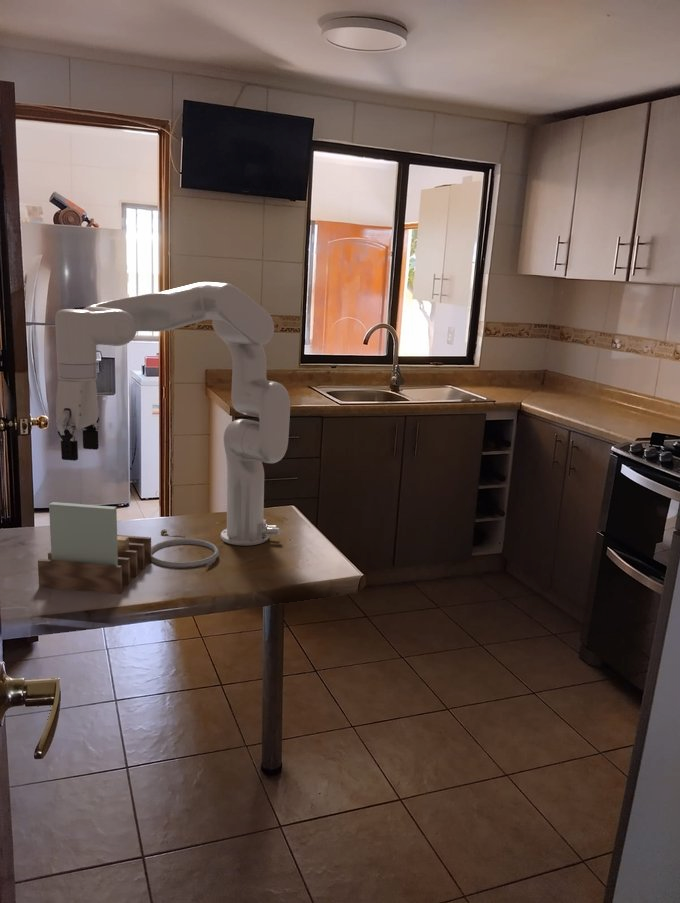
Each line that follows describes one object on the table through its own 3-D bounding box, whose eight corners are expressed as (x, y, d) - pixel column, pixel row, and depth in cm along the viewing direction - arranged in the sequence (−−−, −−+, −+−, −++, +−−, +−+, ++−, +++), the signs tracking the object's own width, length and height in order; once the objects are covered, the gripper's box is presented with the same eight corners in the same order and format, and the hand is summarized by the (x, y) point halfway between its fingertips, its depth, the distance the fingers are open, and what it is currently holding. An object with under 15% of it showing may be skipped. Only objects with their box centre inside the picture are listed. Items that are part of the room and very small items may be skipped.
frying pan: (194, 522, 200) (228, 556, 176) (194, 532, 201) (228, 567, 176) (130, 529, 192) (156, 566, 168) (130, 540, 193) (157, 578, 169)
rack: (151, 565, 175) (151, 537, 173) (120, 598, 157) (119, 567, 155) (78, 559, 176) (77, 531, 175) (39, 591, 158) (37, 560, 157)
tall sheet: (118, 586, 160) (116, 506, 156) (115, 589, 159) (113, 509, 154) (56, 581, 161) (52, 501, 157) (52, 583, 160) (48, 504, 156)
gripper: (78, 365, 158) (81, 444, 162) (38, 376, 141) (42, 463, 145) (112, 367, 157) (114, 446, 161) (76, 378, 140) (79, 465, 144)
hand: (80, 454), depth 153 cm, fingers open, 9 cm apart
